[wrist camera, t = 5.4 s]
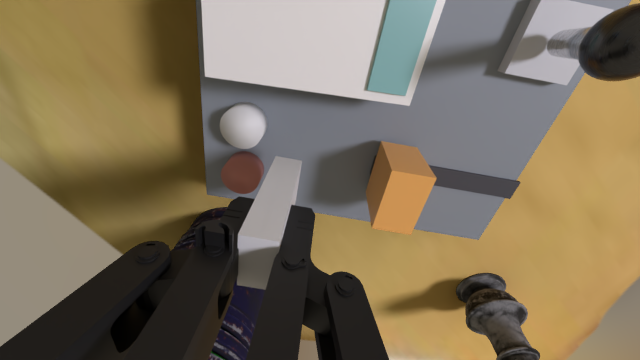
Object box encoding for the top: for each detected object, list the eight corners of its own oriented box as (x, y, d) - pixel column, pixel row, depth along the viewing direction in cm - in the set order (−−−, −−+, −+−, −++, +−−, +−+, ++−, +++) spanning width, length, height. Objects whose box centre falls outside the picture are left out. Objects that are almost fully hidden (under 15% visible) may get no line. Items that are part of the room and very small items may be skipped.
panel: (225, 169, 24) (198, 205, 20) (221, -105, 15) (169, -162, 11) (461, 210, 25) (489, 253, 21) (591, -26, 16) (696, -45, 11)
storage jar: (299, 252, 29) (271, 434, 16) (237, 285, 33) (172, 457, 20) (233, 189, 26) (129, 360, 13) (170, 233, 29) (37, 405, 16)
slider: (365, 191, 20) (371, 228, 16) (381, 140, 17) (392, 170, 14) (397, 197, 20) (410, 234, 16) (416, 147, 18) (436, 178, 14)
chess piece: (442, 295, 32) (494, 428, 21) (477, 264, 29) (555, 400, 19) (483, 310, 33) (551, 444, 22) (520, 281, 30) (618, 419, 19)
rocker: (214, 68, 14) (203, 77, 12) (209, -92, 11) (194, -113, 9) (395, 95, 16) (411, 107, 14) (435, -34, 13) (462, -42, 11)
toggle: (522, 61, 14) (576, 75, 8) (547, 14, 13) (630, -9, 7) (569, 71, 14) (663, 93, 8) (599, 22, 13) (734, 4, 7)
